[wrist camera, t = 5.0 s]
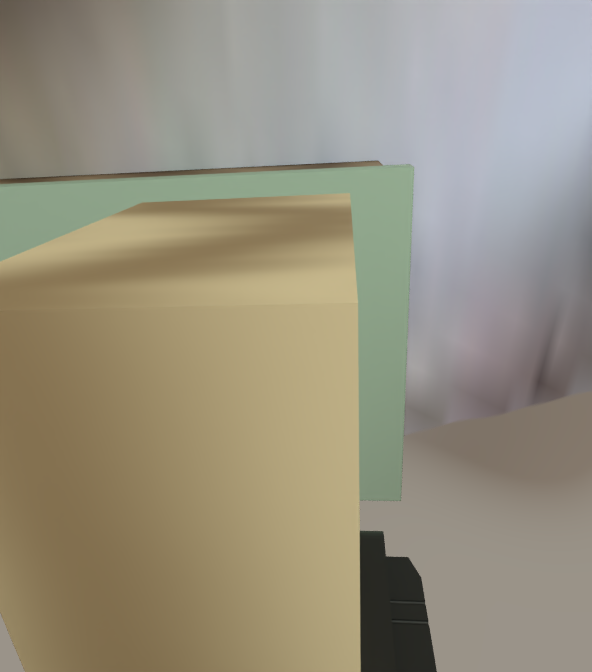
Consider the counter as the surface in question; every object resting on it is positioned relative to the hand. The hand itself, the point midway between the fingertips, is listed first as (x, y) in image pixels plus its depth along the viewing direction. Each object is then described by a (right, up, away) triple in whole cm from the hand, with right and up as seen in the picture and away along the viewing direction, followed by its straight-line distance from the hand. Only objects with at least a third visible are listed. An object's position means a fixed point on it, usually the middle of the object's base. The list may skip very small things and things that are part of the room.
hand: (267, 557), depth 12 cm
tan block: (0, 0, +1) cm, 1 cm away
